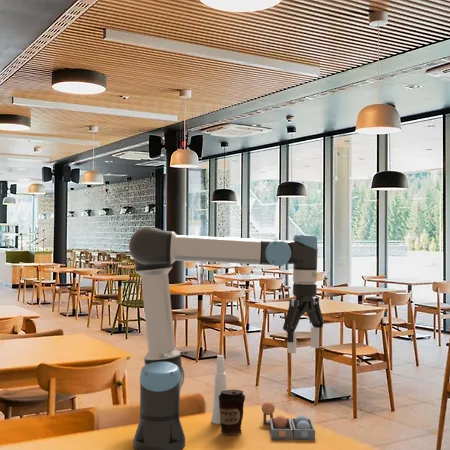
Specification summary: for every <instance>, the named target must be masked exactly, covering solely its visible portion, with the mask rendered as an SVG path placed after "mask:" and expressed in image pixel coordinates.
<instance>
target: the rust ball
mask: <svg viewBox="0 0 450 450" xmlns="http://www.w3.org/2000/svg"><path fill="white" fill-rule="evenodd" d="M273 418H274V426H275V427H276V428H277V429H284V428H285V427H286V426H287V419H286V416H284V415H282V414H278V415H276V416H275V417H273Z"/></svg>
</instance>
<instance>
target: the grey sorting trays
mask: <svg viewBox="0 0 450 450" xmlns="http://www.w3.org/2000/svg"><path fill="white" fill-rule="evenodd" d="M274 418H275V417H273V418H270V417H269V420H270V425H269V429H270V438H271V440H289V441H290V440H291V441H292V440H294V441H295V440H296V441H297V440H299V441H316V429H315V425H314V424H313V421H312V418H307V419H308V421H309V424H310V427H311V430H310V429H297V428H296V425H295V419H296V418H297V417H296V418H286V419H287V426H286V427H285V428H284V429H277V428H276V427H275V426H274Z"/></svg>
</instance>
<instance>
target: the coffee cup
mask: <svg viewBox="0 0 450 450" xmlns="http://www.w3.org/2000/svg"><path fill="white" fill-rule="evenodd" d="M245 400H246V395H245V394H244V391H243V390H240V389H227V390H225V391H221V394H220V395H219V410H220V423H221V424H220V432H221V434H222V435H226V436H238V435H241V434H242V423H243V418H244V417H243V416H244V407H245V406H244V403H245Z"/></svg>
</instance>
